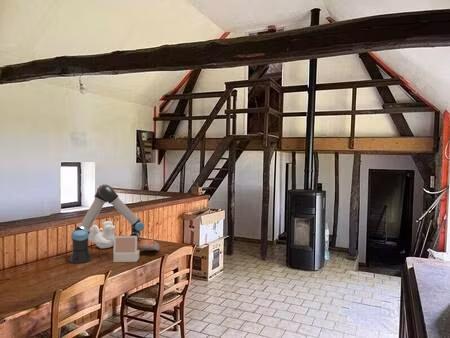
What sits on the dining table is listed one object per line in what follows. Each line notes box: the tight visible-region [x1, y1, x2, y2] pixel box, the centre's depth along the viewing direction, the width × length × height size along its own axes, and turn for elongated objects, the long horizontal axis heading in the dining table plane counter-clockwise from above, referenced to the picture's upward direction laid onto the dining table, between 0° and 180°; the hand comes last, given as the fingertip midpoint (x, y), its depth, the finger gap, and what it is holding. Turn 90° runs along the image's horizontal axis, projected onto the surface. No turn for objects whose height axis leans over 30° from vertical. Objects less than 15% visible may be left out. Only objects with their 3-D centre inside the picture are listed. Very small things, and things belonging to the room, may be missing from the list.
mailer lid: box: [112, 235, 138, 255], centre depth 276 cm, size 14×18×1 cm
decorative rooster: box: [88, 220, 116, 249], centre depth 323 cm, size 25×16×25 cm, turn 81°
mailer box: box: [113, 249, 140, 263], centre depth 282 cm, size 14×18×6 cm
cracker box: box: [137, 239, 160, 252], centre depth 303 cm, size 14×6×21 cm
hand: (129, 243), depth 277 cm, fingers closed
